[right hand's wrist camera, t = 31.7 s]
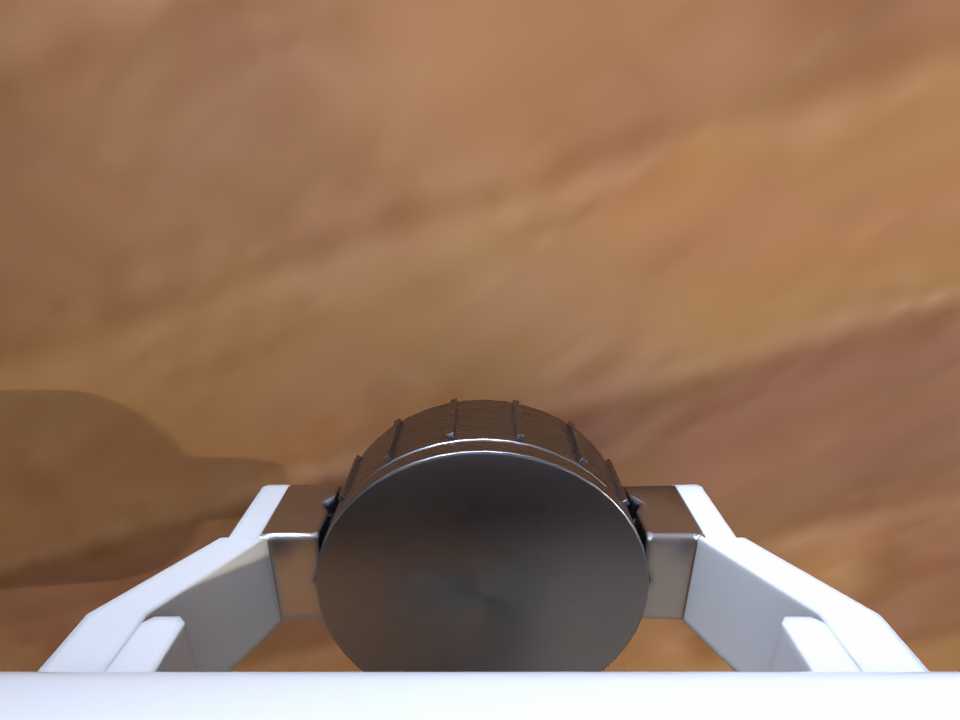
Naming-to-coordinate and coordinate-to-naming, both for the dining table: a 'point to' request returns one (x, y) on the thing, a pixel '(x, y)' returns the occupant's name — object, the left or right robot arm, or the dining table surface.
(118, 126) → the dining table surface
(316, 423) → the dining table surface
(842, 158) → the dining table surface
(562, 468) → the lid
